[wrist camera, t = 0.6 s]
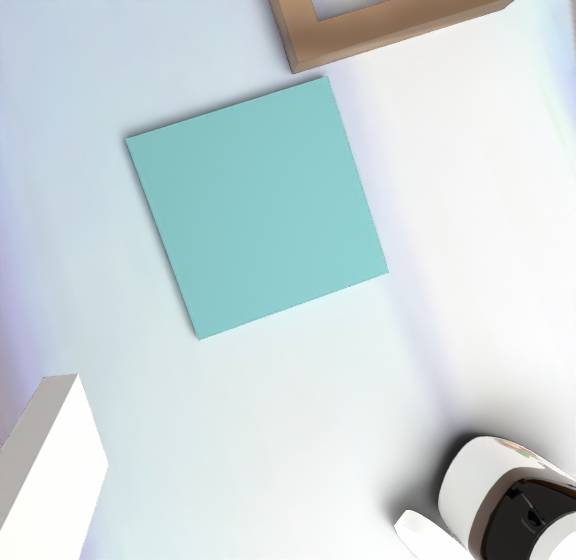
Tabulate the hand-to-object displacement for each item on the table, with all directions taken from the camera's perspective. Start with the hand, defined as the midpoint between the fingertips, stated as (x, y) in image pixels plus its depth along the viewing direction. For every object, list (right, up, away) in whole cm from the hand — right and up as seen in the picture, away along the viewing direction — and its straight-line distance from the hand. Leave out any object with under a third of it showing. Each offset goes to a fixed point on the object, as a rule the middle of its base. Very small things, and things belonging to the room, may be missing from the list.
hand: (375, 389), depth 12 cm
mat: (-4, +7, +24) cm, 25 cm away
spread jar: (+12, -14, +28) cm, 34 cm away
